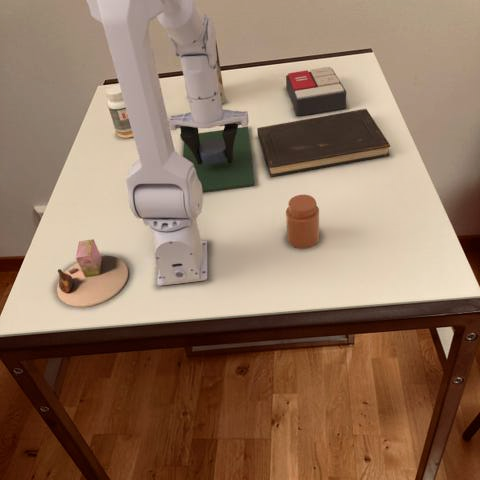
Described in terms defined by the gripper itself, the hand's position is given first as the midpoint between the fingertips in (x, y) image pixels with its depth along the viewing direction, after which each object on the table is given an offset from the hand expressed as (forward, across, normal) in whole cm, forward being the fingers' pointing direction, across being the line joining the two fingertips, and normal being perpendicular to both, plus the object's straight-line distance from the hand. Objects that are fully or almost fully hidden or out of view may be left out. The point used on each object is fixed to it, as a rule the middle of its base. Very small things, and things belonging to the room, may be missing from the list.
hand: (215, 161), depth 99 cm
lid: (-3, 0, 0) cm, 3 cm away
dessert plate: (+2, +16, +31) cm, 35 cm away
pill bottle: (+2, +23, -17) cm, 29 cm away
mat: (+2, +1, -4) cm, 4 cm away
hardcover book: (+2, -20, -8) cm, 22 cm away
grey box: (+2, -18, -29) cm, 34 cm away
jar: (+2, -18, +21) cm, 28 cm away
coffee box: (+2, +8, -31) cm, 32 cm away
